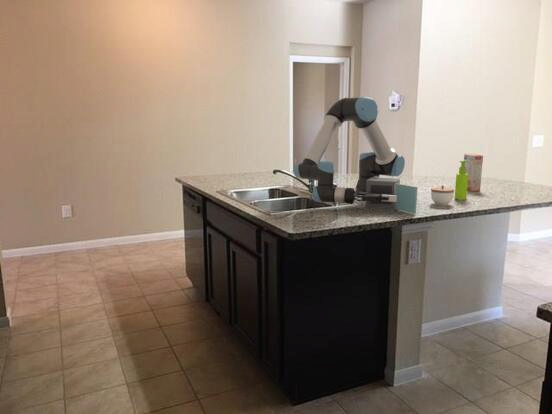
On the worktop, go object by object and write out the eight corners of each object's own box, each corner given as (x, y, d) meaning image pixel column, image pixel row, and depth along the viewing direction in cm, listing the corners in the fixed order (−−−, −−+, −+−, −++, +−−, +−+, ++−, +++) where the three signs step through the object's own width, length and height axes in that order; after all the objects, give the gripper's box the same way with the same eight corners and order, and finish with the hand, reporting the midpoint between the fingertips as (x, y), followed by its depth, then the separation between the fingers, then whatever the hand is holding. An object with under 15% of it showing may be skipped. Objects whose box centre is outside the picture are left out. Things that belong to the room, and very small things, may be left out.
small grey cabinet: (370, 202, 238) (371, 175, 236) (404, 205, 232) (405, 177, 229) (365, 207, 227) (366, 178, 225) (400, 209, 221) (402, 180, 218)
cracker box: (480, 191, 273) (483, 155, 269) (470, 191, 274) (473, 155, 270) (471, 187, 287) (473, 153, 283) (461, 187, 287) (463, 153, 283)
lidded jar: (429, 205, 231) (430, 186, 229) (431, 201, 241) (432, 183, 239) (452, 207, 227) (454, 187, 225) (453, 203, 237) (454, 184, 235)
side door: (414, 213, 209) (415, 187, 207) (392, 208, 222) (393, 183, 219) (417, 213, 210) (418, 186, 208) (395, 208, 222) (396, 183, 220)
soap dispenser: (469, 199, 246) (472, 161, 242) (455, 199, 248) (458, 161, 244) (467, 197, 252) (470, 160, 248) (453, 197, 253) (456, 160, 249)
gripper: (348, 201, 228) (398, 204, 219) (341, 205, 215) (394, 209, 207) (348, 185, 226) (398, 188, 218) (342, 189, 214) (394, 192, 206)
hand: (396, 198), depth 212 cm, fingers closed
